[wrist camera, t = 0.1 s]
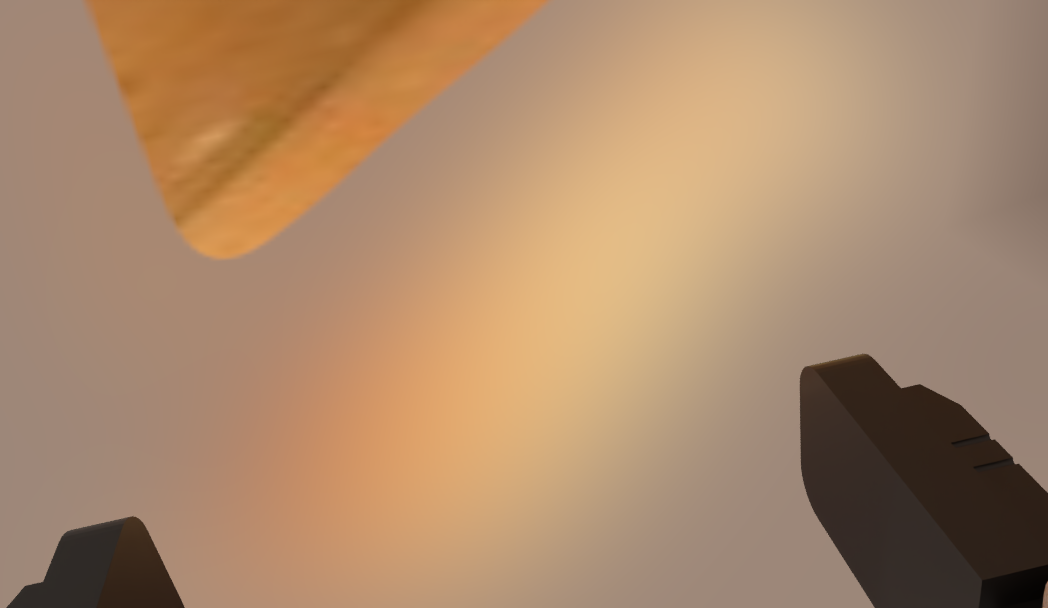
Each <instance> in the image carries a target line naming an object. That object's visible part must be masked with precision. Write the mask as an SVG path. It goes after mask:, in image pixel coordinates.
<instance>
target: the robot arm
mask: <svg viewBox="0 0 1048 608" xmlns="http://www.w3.org/2000/svg"><path fill="white" fill-rule="evenodd" d="M800 429H801V470H802V476H803V481H804V485H805V489H806V492H807V496H808V498H809V501H810V503H811V506H812V508H813V510H814V512H815V514H816V516H817V517H818V519H819V521H820V522H821V524H822V525H823V527H824V528H825V530H826V531H827V533H828V535H829V536H830V538H831V539H832V541H833V543H834V544H835V546H836V547H837V549H838V551H839V552H840V554H841V555H842V557H843V558H844V560H845V561H846V563H847V565H848V566H849V568H850V569H851V571H852V573H853V574H854V576H855V577H856V579H857V580H858V582H859V583H860V585H861V587H862V588H863V590H864V591H865V593H866V594H867V596H868V598H869V599H870V601H871V602H872V604H873V606H874V607H875V608H1048V493H1047V492H1046V491H1045V490H1044V489H1043V488H1042V487H1041V486H1040V485H1039V484H1038V483H1037V482H1036V481H1035V480H1034V479H1033V478H1032V477H1031V476H1030V475H1029V474H1028V473H1027V472H1026V471H1025V470H1024V469H1023V468H1022V466H1020V465H1019V464H1014V462H1013V458H1012V456H1010V454H1008V453H1007V451H1006V450H1005V449H1003V447H1002V446H1001V445H1000V444H999V443H998V442H997V441H996V440H991V439H990V437H989V433H988V432H987V431H986V430H985V429H984V428H983V427H982V426H981V425H980V424H979V423H978V422H977V421H976V420H975V419H974V418H973V417H972V416H971V415H970V414H969V413H968V412H967V411H966V410H965V409H964V408H963V407H962V406H961V405H960V404H958V403H956V402H954V401H952V400H950V399H948V398H946V397H944V396H942V395H940V394H938V393H936V392H934V391H932V390H930V389H928V388H926V387H924V386H922V385H920V384H919V385H914V386H910V387H906V388H900V387H899V386H898V385H897V384H896V383H895V381H894V380H893V379H892V378H891V377H890V376H889V375H888V374H887V373H886V372H885V371H884V369H883V368H882V367H881V366H880V365H879V364H878V363H877V362H876V361H875V360H874V359H873V358H872V357H871V356H869V355H867V354H860V355H855V356H851V357H847V358H842V359H838V360H833V361H829V362H825V363H820V364H815V365H811V366H807V367H805V368H804V369H803V370H802V373H801V376H800ZM7 608H184V605H183V603H182V601H181V599H180V597H179V594H178V592H177V590H176V588H175V587H174V584H173V582H172V580H171V578H170V576H169V574H168V572H167V570H166V568H165V566H164V564H163V561H162V559H161V557H160V555H159V553H158V551H157V549H156V547H155V545H154V543H153V541H152V539H151V537H150V535H149V533H148V531H147V529H146V527H145V525H144V524H143V522H142V521H141V520H140V519H138V518H137V517H133V516H132V517H127V518H123V519H119V520H114V521H110V522H105V523H101V524H96V525H92V526H87V527H83V528H79V529H74V530H70V531H67V532H66V533H65V534H64V535H63V536H62V538H61V540H60V542H59V544H58V546H57V549H56V551H55V554H54V556H53V559H52V561H51V564H50V566H49V569H48V571H47V574H46V576H45V579H44V581H43V582H41V583H37V584H32V585H28V586H25V587H24V588H23V589H22V590H21V592H20V593H19V594H18V595H17V596H16V597H15V599H14V600H13V601H12V602H11V603H10V604H9V605H8V607H7Z"/></svg>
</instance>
